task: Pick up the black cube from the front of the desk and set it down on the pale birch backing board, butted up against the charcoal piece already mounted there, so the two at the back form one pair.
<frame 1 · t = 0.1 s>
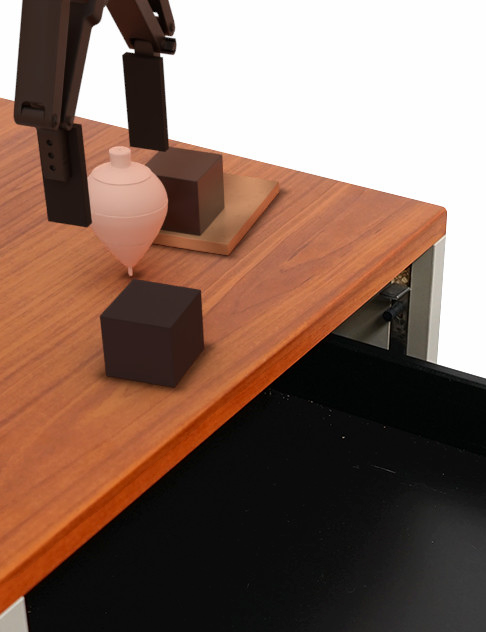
hand: (112, 183, 96), 20 cm above the table, tool pointing down, fingers open, 13 cm apart
black cube: (156, 361, 117), on the table
backing board: (198, 213, 140), on the table
spinning top: (130, 277, 129), on the table
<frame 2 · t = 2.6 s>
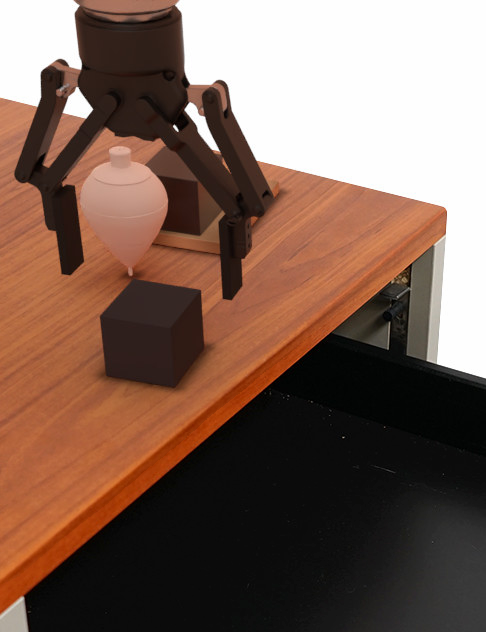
hand: (152, 280, 112), 8 cm above the table, tool pointing down, fingers open, 13 cm apart
nothing on the table moved.
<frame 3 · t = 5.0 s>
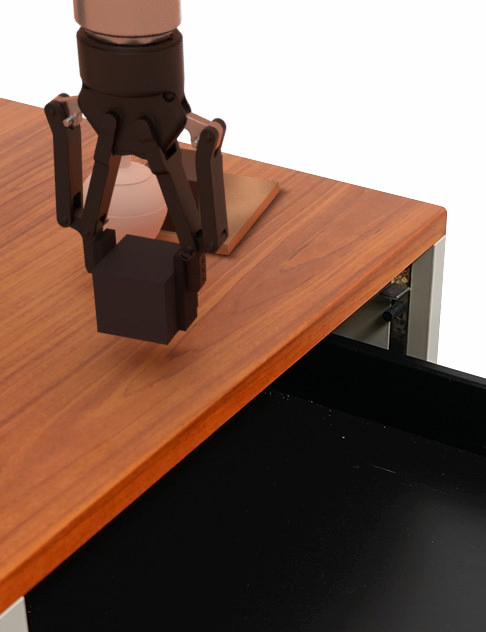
hand: (148, 315, 114), 4 cm above the table, tool pointing down, fingers closed on black cube, 6 cm apart
black cube: (148, 319, 115), point 4 cm above the table, touching gripper
everything else where it was.
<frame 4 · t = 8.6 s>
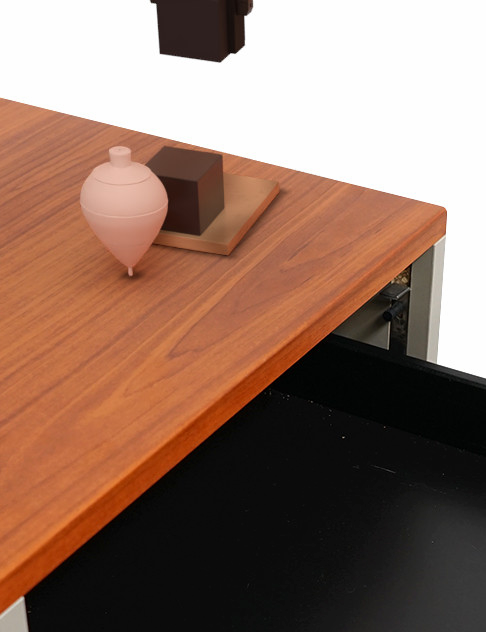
hand: (203, 44, 132), 16 cm above the table, tool pointing down, fingers closed on black cube, 6 cm apart
black cube: (203, 47, 132), point 16 cm above the table, touching gripper
everything else where it was.
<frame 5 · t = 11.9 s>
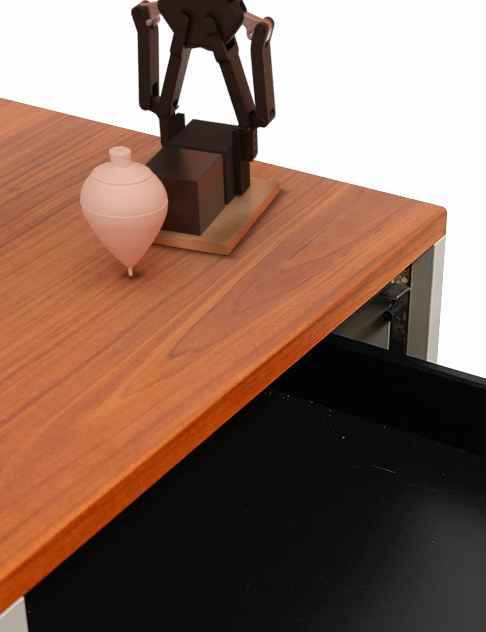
hand: (211, 184, 142), 1 cm above the table, tool pointing down, fingers closed on black cube, 6 cm apart
black cube: (211, 187, 142), point 1 cm above the table, touching backing board, gripper
everything else where it was.
when the fingers open (2 cm above the table, at t = 12.1 s): black cube stays where it is, resting on backing board.
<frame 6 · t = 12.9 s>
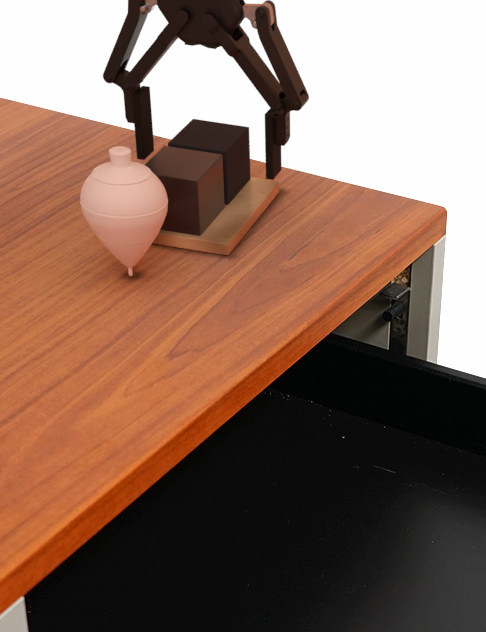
hand: (209, 164, 141), 4 cm above the table, tool pointing down, fingers open, 13 cm apart
black cube: (211, 187, 142), point 1 cm above the table, touching backing board
everything else where it was.
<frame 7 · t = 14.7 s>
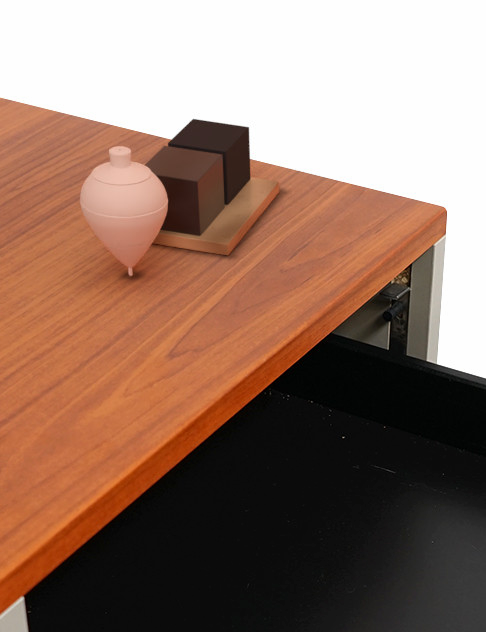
nothing on the table moved.
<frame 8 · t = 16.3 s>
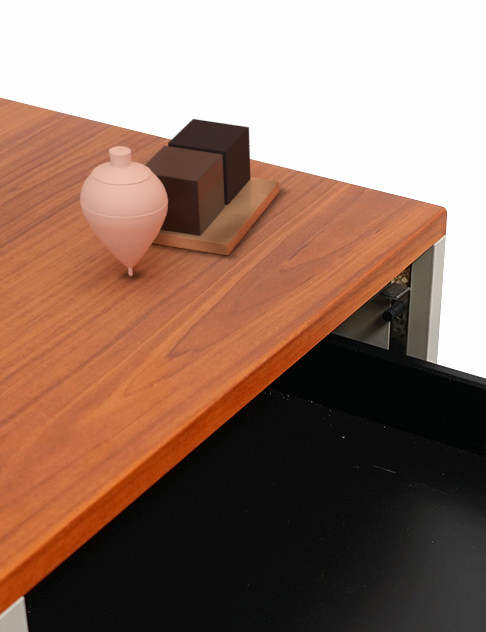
nothing on the table moved.
at the end: black cube 0.1 cm from the target spot on the backing board, point 1.2 cm above the backing board's base; black cube tilted 0°; the gripper is holding nothing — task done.
